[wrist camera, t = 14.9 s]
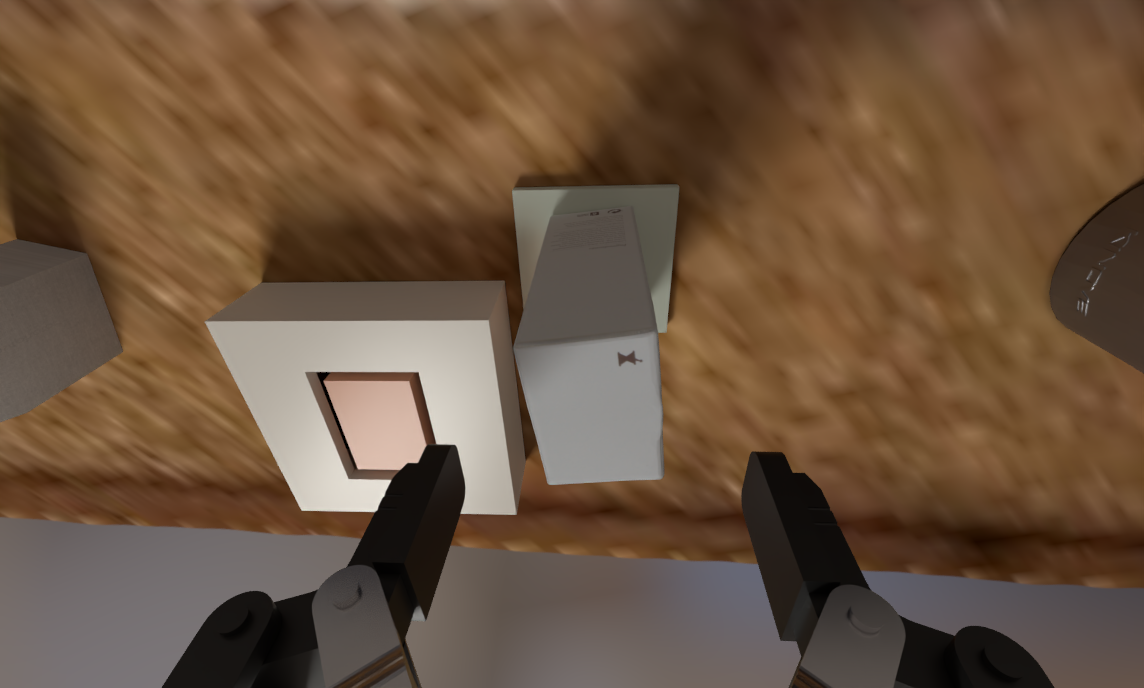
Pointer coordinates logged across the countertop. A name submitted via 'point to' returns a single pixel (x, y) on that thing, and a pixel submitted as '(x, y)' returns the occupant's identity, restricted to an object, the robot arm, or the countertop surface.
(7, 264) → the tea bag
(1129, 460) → the countertop surface
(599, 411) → the skincare box
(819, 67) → the countertop surface
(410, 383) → the button
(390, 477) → the frame
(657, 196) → the mat
